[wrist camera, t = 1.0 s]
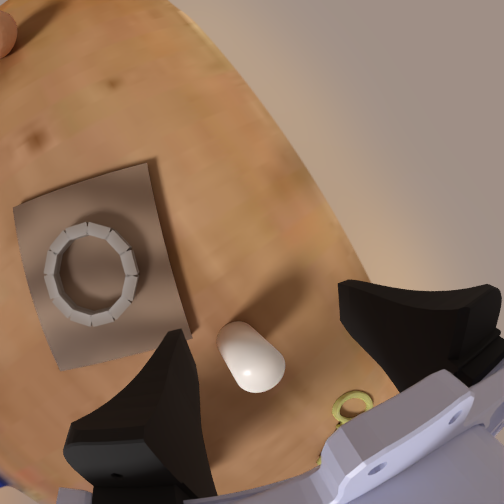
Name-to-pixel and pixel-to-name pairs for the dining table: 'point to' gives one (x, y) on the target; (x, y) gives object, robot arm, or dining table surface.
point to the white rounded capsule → (250, 357)
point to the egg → (7, 33)
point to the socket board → (99, 269)
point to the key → (339, 403)
